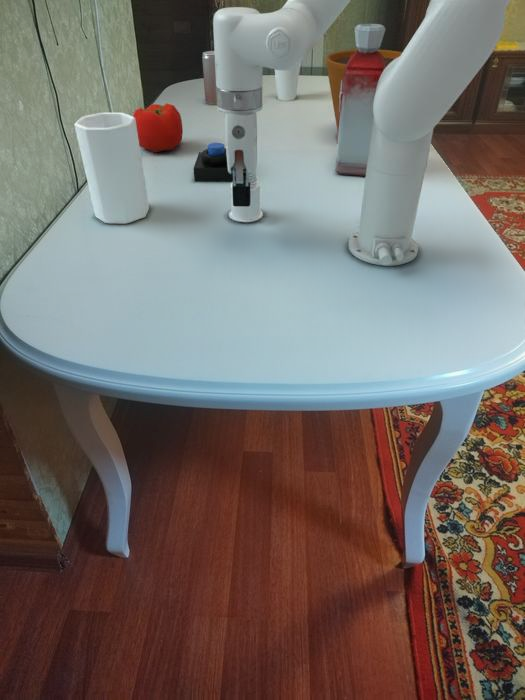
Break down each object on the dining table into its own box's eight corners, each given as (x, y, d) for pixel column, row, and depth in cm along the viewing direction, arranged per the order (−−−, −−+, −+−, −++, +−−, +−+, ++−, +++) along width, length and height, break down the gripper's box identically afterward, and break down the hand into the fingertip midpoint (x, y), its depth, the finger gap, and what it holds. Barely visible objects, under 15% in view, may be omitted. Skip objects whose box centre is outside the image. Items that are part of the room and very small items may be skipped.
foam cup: (269, 96, 180) (270, 54, 172) (294, 94, 182) (295, 52, 174) (278, 102, 173) (279, 59, 165) (303, 100, 175) (305, 57, 167)
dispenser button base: (236, 181, 119) (236, 160, 116) (194, 181, 120) (192, 160, 116) (239, 164, 128) (238, 144, 125) (199, 164, 128) (198, 144, 125)
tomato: (151, 160, 131) (145, 117, 124) (127, 147, 138) (120, 106, 132) (195, 149, 137) (192, 107, 130) (170, 137, 145) (165, 97, 138)
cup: (92, 206, 109) (71, 115, 97) (144, 199, 112) (130, 109, 100) (98, 228, 101) (76, 131, 89) (154, 219, 104) (140, 125, 92)
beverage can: (203, 101, 175) (199, 51, 165) (219, 99, 177) (216, 50, 167) (208, 105, 171) (205, 55, 161) (225, 103, 173) (223, 53, 163)
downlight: (268, 220, 103) (269, 172, 97) (236, 226, 101) (234, 177, 95) (254, 205, 109) (254, 158, 103) (223, 210, 107) (221, 163, 101)
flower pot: (341, 120, 157) (348, 46, 144) (416, 132, 148) (430, 54, 135) (306, 141, 141) (310, 60, 129) (387, 156, 132) (400, 70, 119)
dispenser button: (224, 156, 119) (223, 148, 118) (207, 156, 119) (206, 148, 118) (225, 151, 122) (225, 142, 121) (209, 151, 122) (208, 142, 121)
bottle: (374, 178, 121) (394, 30, 101) (331, 175, 122) (343, 29, 103) (376, 157, 132) (395, 21, 112) (336, 155, 133) (348, 19, 114)
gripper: (261, 111, 77) (260, 222, 89) (263, 87, 89) (262, 189, 101) (212, 110, 77) (218, 222, 89) (220, 87, 89) (224, 188, 101)
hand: (241, 204), depth 95 cm, fingers closed
